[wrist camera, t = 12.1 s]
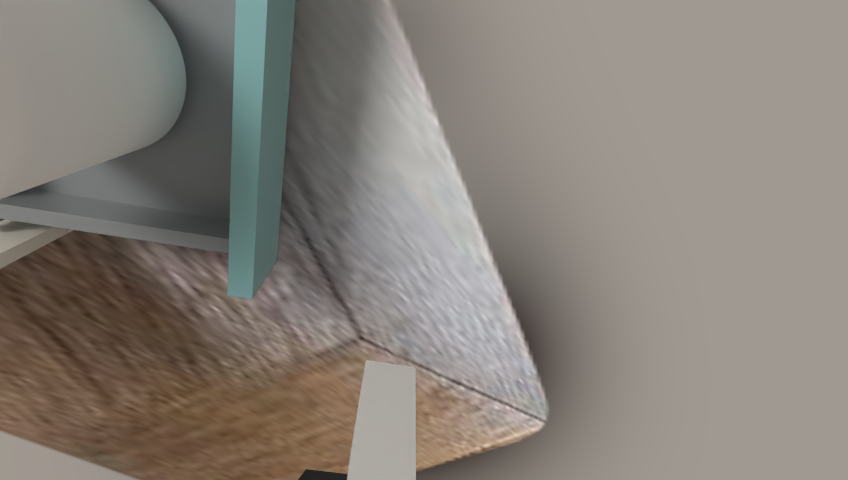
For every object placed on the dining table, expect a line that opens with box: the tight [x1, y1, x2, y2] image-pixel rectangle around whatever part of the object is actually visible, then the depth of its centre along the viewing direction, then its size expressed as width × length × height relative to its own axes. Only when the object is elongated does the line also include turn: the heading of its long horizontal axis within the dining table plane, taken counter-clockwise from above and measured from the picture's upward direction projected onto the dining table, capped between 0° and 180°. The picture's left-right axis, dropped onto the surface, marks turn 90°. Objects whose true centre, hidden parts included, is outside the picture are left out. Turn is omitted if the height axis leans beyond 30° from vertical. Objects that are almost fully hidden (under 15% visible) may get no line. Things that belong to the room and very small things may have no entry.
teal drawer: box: [0, 0, 296, 299], centre depth 21 cm, size 14×18×5 cm
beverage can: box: [0, 0, 186, 199], centre depth 16 cm, size 8×8×12 cm
